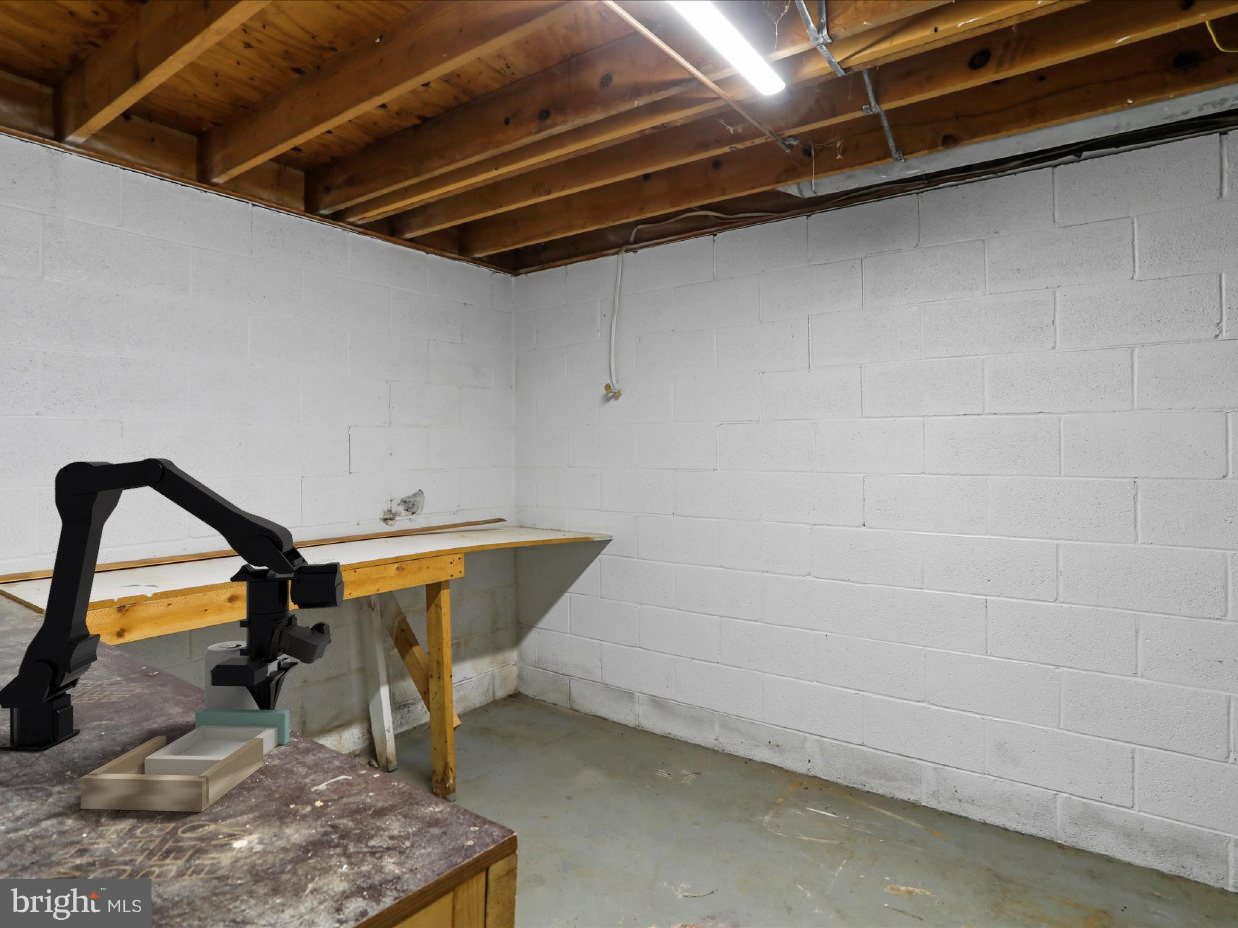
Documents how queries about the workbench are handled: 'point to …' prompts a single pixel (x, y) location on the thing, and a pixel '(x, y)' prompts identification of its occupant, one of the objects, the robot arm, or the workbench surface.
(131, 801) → the dock
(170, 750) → the tray
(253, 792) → the workbench surface
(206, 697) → the beverage can
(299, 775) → the workbench surface
